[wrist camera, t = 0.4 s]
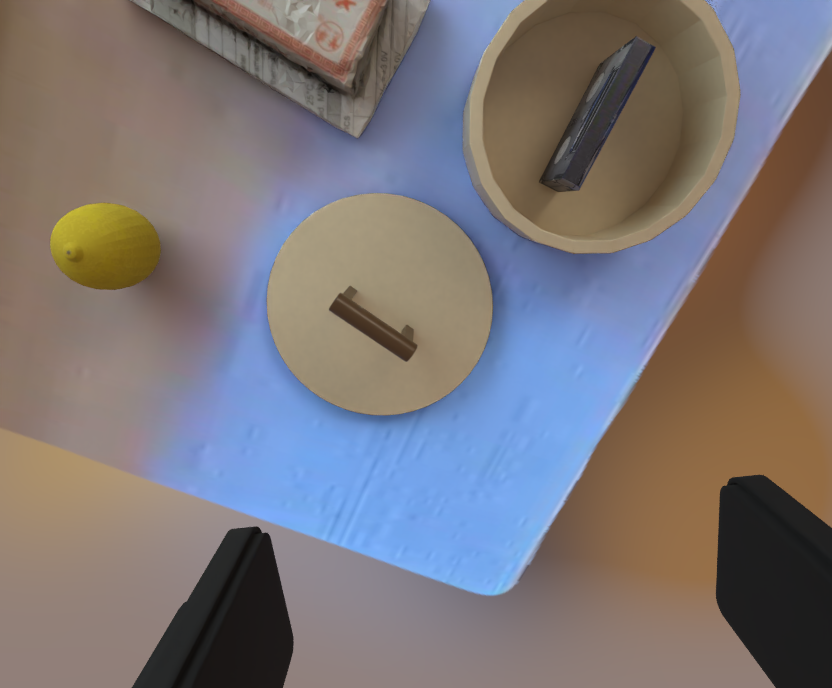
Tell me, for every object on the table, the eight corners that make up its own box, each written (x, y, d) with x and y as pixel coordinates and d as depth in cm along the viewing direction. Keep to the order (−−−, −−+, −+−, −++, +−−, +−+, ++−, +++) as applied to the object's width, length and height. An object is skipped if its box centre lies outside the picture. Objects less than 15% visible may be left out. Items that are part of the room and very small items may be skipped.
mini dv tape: (557, 192, 35) (583, 190, 30) (538, 182, 35) (561, 178, 30) (619, 74, 33) (660, 48, 28) (599, 63, 33) (637, 35, 27)
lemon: (154, 190, 36) (81, 187, 28) (194, 261, 37) (135, 277, 30) (89, 221, 37) (0, 227, 29) (130, 291, 38) (56, 314, 30)
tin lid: (348, 144, 35) (332, 131, 28) (536, 281, 37) (560, 298, 31) (230, 333, 39) (192, 360, 32) (408, 447, 41) (405, 493, 35)
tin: (561, -56, 32) (588, -106, 27) (740, 100, 34) (796, 82, 29) (417, 160, 35) (417, 153, 30) (589, 288, 38) (615, 301, 32)
